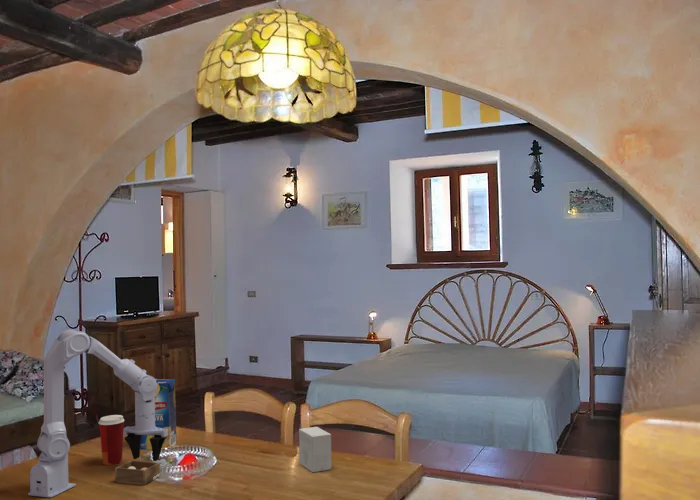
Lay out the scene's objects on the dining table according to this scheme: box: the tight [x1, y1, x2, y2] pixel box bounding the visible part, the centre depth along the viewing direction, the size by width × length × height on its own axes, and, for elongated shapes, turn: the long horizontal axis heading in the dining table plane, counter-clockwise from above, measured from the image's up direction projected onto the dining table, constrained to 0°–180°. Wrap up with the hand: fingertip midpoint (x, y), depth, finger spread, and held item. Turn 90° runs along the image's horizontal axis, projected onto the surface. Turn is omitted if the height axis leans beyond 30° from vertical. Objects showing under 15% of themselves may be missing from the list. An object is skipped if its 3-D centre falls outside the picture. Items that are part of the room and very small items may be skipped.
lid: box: [140, 454, 152, 462], centre depth 190 cm, size 8×11×4 cm
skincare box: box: [298, 426, 333, 473], centre depth 187 cm, size 10×6×10 cm, turn 27°
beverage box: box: [138, 378, 178, 451], centre depth 212 cm, size 7×11×22 cm, turn 87°
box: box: [114, 460, 161, 486], centre depth 180 cm, size 7×10×4 cm
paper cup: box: [97, 414, 126, 466], centre depth 196 cm, size 8×8×14 cm
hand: (146, 459), depth 190 cm, fingers open, 6 cm apart
